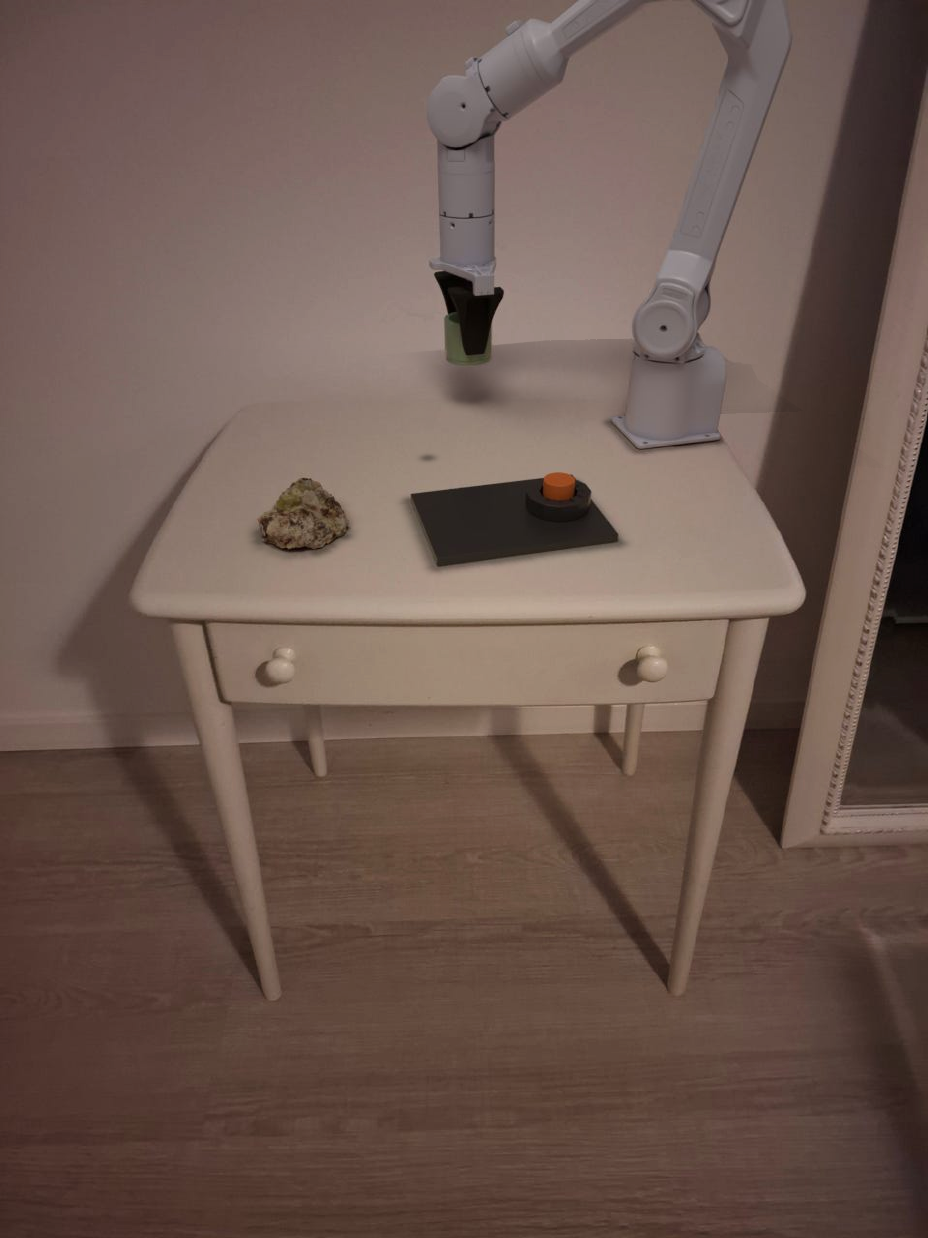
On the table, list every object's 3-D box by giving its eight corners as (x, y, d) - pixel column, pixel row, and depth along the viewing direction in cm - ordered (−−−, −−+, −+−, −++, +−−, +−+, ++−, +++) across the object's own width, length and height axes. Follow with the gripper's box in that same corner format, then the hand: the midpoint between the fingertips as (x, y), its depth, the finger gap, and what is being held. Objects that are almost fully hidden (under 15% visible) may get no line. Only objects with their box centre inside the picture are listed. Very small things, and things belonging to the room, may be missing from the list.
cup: (485, 348, 100) (485, 308, 97) (497, 363, 96) (497, 322, 93) (441, 352, 99) (440, 312, 96) (451, 367, 95) (450, 326, 92)
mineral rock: (347, 531, 73) (251, 509, 71) (338, 574, 75) (244, 554, 74) (359, 477, 82) (274, 457, 80) (350, 518, 84) (267, 498, 83)
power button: (568, 485, 79) (569, 470, 78) (578, 499, 77) (579, 483, 76) (538, 489, 79) (539, 473, 78) (548, 503, 77) (549, 487, 76)
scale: (571, 482, 85) (573, 458, 83) (617, 542, 75) (620, 517, 74) (410, 502, 82) (409, 477, 80) (437, 567, 72) (436, 541, 71)
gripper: (415, 202, 94) (420, 329, 102) (443, 230, 82) (447, 370, 90) (478, 198, 95) (479, 323, 103) (515, 225, 84) (512, 363, 91)
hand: (468, 345), depth 97 cm, fingers closed on cup, 5 cm apart
